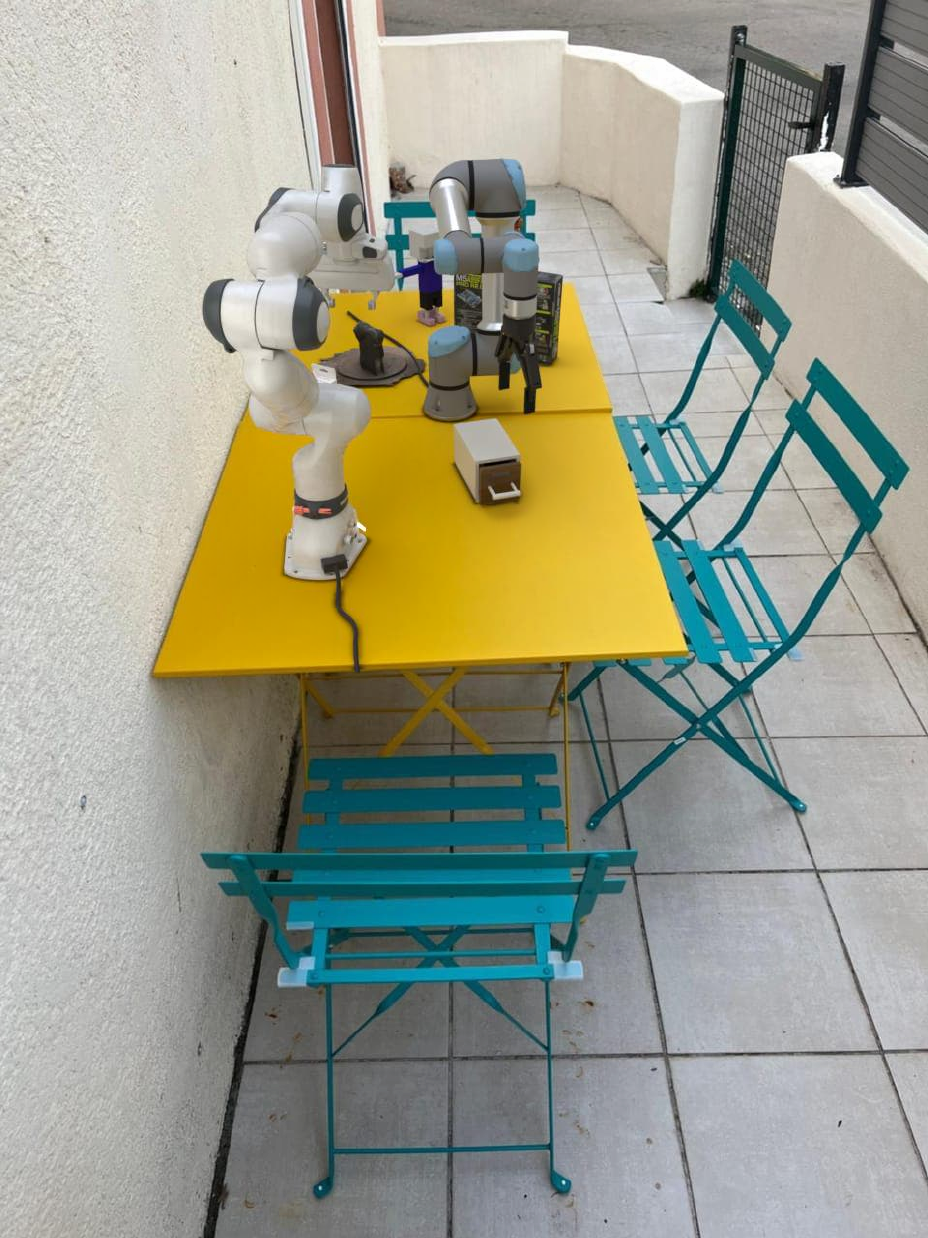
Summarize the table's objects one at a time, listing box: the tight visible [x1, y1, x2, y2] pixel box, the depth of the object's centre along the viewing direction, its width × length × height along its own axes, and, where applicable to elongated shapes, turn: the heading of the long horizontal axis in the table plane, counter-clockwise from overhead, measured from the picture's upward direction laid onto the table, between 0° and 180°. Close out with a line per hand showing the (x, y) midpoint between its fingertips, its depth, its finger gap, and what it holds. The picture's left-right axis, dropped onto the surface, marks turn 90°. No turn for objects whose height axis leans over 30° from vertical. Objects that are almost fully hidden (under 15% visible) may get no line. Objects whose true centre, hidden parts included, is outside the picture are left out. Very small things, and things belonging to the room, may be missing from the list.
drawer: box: [478, 459, 522, 506], centre depth 219 cm, size 24×10×10 cm, turn 16°
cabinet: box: [453, 417, 521, 504], centre depth 223 cm, size 20×11×12 cm, turn 16°
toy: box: [394, 223, 446, 327], centre depth 298 cm, size 35×10×30 cm, turn 130°
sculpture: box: [316, 320, 426, 387], centre depth 273 cm, size 33×35×16 cm
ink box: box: [311, 363, 337, 384], centre depth 249 cm, size 9×5×15 cm, turn 62°
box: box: [453, 270, 564, 367], centre depth 277 cm, size 34×7×27 cm, turn 68°
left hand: (351, 308), depth 201 cm, fingers open, 8 cm apart
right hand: (516, 400), depth 213 cm, fingers open, 13 cm apart
